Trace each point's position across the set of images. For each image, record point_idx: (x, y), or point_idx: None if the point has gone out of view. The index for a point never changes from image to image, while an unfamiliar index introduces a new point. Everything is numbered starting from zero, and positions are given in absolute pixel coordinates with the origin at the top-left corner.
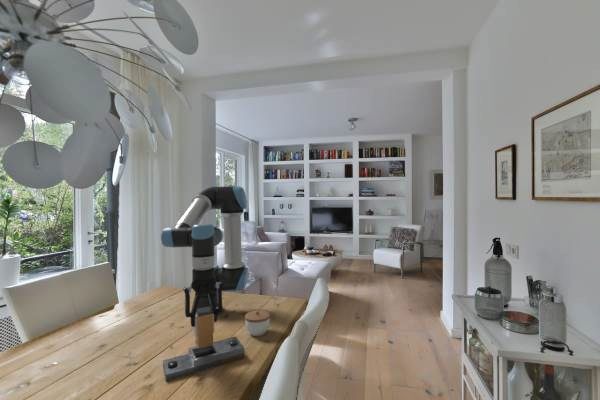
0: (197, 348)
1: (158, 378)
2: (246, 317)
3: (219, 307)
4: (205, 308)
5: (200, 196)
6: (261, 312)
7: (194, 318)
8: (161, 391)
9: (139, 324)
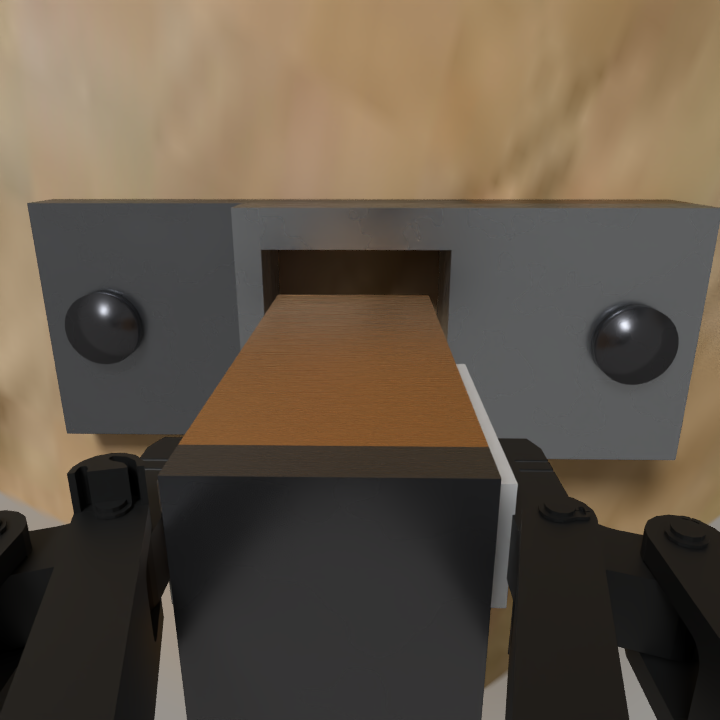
0: (310, 249)
1: (36, 355)
2: None
3: (659, 690)
4: (383, 547)
5: None
6: None
7: (167, 565)
8: (67, 499)
9: None
